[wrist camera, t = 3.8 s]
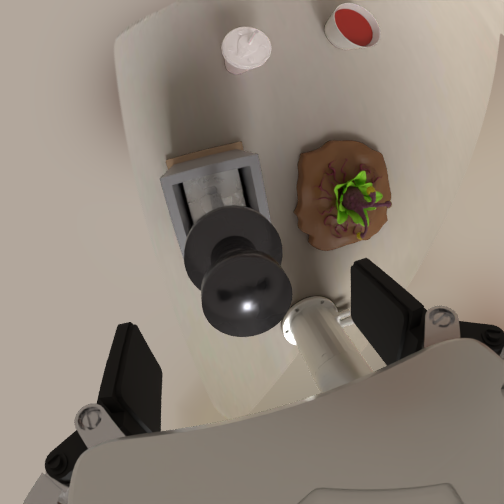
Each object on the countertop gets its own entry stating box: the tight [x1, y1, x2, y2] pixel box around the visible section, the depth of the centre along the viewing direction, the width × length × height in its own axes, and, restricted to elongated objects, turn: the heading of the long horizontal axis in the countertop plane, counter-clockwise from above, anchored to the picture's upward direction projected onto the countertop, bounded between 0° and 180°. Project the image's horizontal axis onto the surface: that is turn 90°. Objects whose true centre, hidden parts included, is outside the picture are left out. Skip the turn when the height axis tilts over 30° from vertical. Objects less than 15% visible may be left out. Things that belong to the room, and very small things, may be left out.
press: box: [160, 142, 271, 259], centre depth 36 cm, size 12×12×17 cm
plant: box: [294, 140, 392, 251], centre depth 44 cm, size 20×20×11 cm
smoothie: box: [221, 26, 271, 74], centre depth 30 cm, size 6×6×14 cm
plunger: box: [183, 168, 292, 337], centre depth 24 cm, size 7×7×24 cm
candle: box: [325, 3, 381, 50], centre depth 34 cm, size 9×9×6 cm
